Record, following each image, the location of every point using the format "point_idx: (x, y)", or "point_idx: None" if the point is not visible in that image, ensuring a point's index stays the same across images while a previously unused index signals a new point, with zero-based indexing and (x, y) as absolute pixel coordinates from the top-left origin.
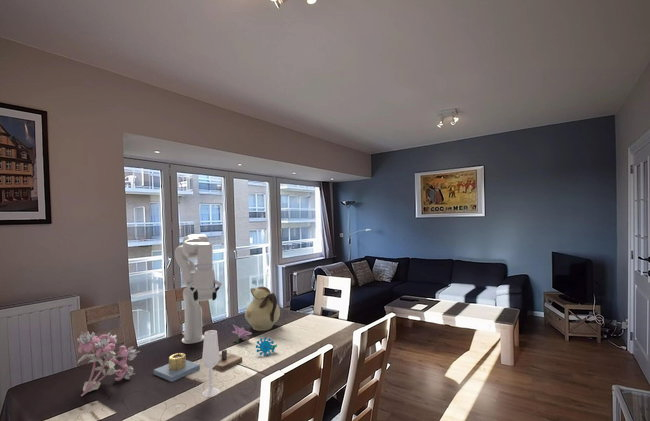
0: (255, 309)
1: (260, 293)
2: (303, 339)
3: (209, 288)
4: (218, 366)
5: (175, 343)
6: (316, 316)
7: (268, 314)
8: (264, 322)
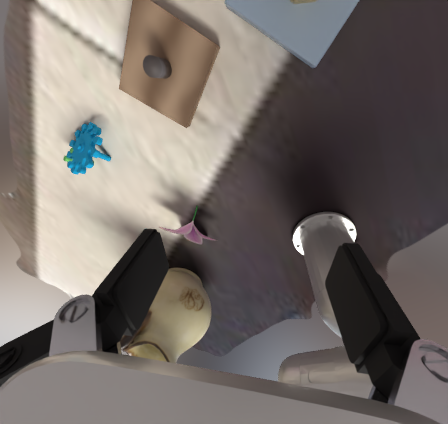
0: (164, 308)
1: None
2: (69, 219)
3: (61, 363)
4: (156, 4)
5: (370, 217)
6: None
7: None
8: None
